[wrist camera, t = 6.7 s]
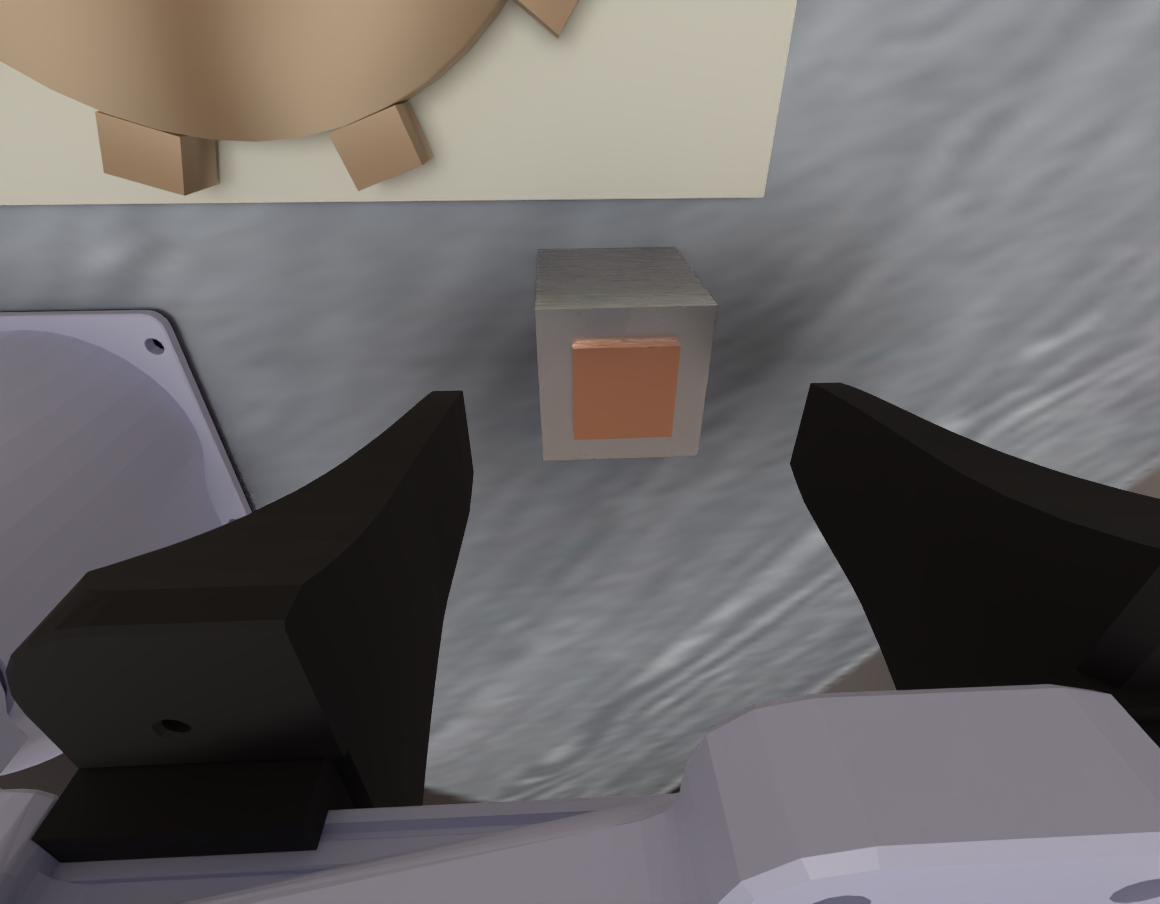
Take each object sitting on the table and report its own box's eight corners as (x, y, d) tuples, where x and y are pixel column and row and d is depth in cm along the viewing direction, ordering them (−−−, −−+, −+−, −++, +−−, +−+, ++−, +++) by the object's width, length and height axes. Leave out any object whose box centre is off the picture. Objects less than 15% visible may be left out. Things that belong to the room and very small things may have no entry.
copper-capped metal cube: (663, 370, 19) (700, 462, 14) (544, 373, 18) (543, 467, 14) (674, 246, 16) (721, 310, 12) (537, 249, 16) (534, 314, 12)
